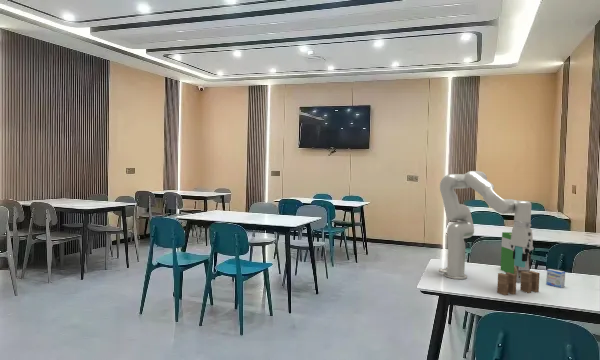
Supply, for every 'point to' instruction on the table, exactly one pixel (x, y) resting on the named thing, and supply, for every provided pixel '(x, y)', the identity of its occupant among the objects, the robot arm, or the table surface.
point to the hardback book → (507, 253)
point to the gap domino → (519, 257)
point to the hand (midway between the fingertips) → (519, 259)
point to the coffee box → (522, 269)
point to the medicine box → (555, 278)
